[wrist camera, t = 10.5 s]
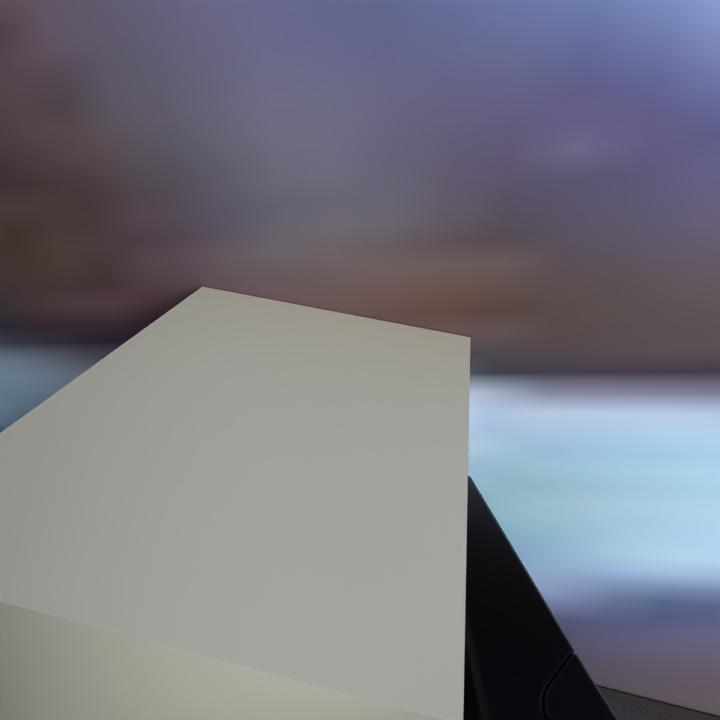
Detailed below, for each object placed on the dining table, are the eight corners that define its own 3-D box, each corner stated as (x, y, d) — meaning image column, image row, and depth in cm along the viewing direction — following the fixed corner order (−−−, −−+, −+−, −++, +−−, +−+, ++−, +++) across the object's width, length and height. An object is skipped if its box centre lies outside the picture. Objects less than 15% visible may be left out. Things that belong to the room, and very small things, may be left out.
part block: (420, 543, 11) (369, 982, 5) (204, 492, 11) (-36, 851, 6) (470, 337, 9) (463, 723, 3) (202, 286, 9) (-170, 556, 4)
